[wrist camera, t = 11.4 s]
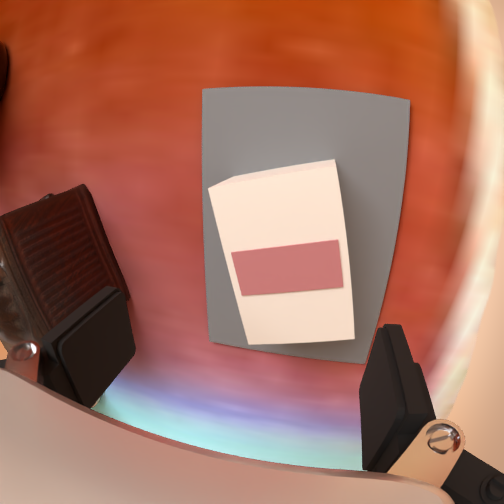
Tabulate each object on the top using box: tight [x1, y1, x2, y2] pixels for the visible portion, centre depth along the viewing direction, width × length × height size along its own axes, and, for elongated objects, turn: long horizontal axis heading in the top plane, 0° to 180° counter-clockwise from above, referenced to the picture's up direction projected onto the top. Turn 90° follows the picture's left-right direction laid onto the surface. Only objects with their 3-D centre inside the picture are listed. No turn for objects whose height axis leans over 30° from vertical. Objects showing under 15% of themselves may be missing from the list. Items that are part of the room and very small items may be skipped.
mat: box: [202, 87, 410, 364], centre depth 19 cm, size 18×12×1 cm, turn 179°
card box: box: [208, 159, 355, 345], centre depth 17 cm, size 6×9×4 cm, turn 13°
